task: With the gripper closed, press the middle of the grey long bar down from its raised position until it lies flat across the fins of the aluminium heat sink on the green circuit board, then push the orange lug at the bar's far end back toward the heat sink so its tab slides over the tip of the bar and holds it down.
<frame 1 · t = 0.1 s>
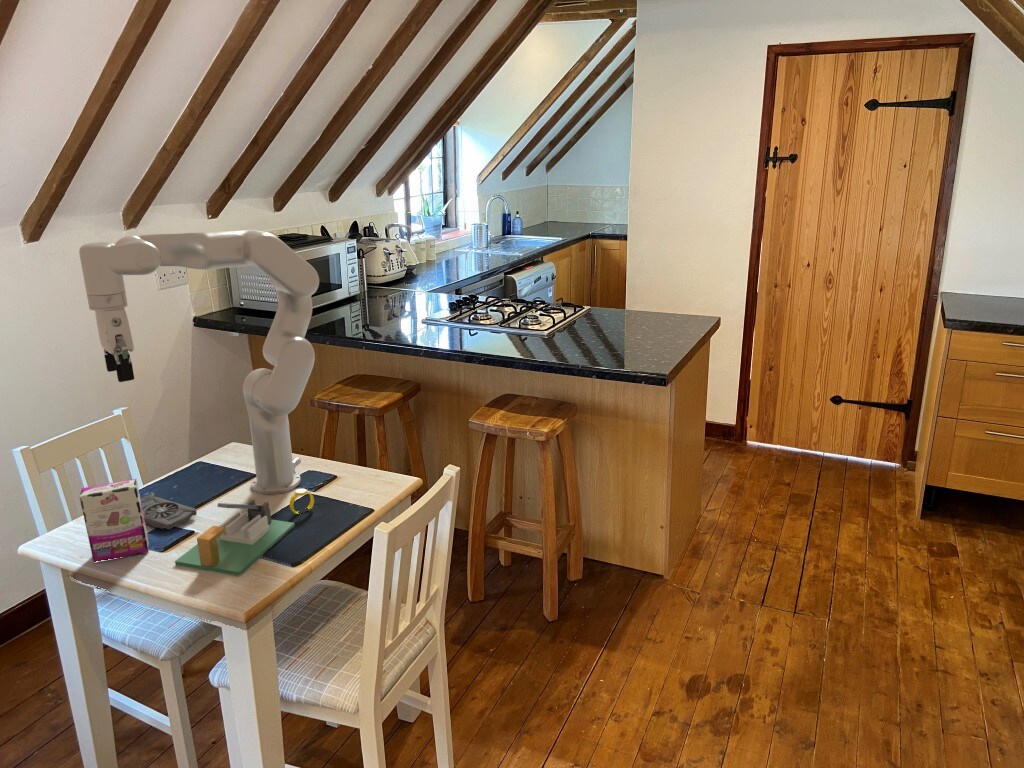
hand: (120, 375, 174), 37 cm above the table, tool pointing down, fingers open, 9 cm apart
candy bar box: (121, 554, 173), on the table
grey long bar: (241, 506, 176), point 8 cm above the table, hinge at 28.0°
board: (237, 545, 176), on the table
graphics card: (157, 522, 188), on the table
lug: (213, 546, 167), point 4 cm above the table, slide at 0.0 cm
watch: (303, 513, 191), on the table
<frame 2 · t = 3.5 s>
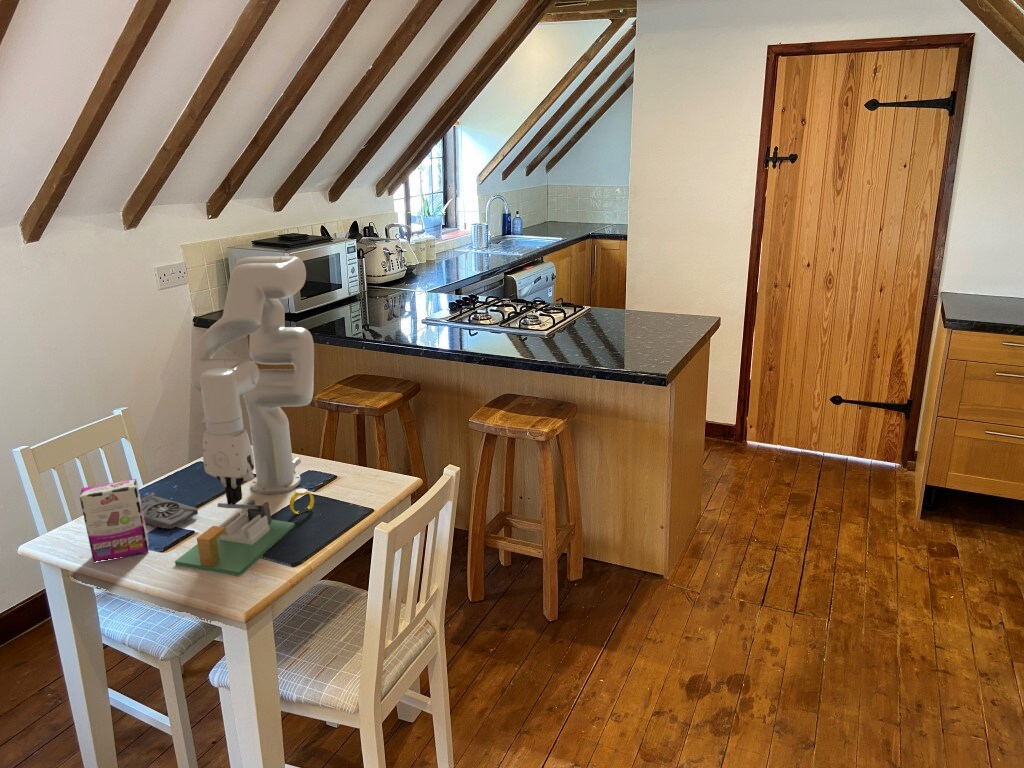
hand: (234, 501, 174), 11 cm above the table, tool pointing down, fingers closed
grey long bar: (241, 506, 176), point 8 cm above the table, hinge at 28.0°, touching gripper
everything else where it was.
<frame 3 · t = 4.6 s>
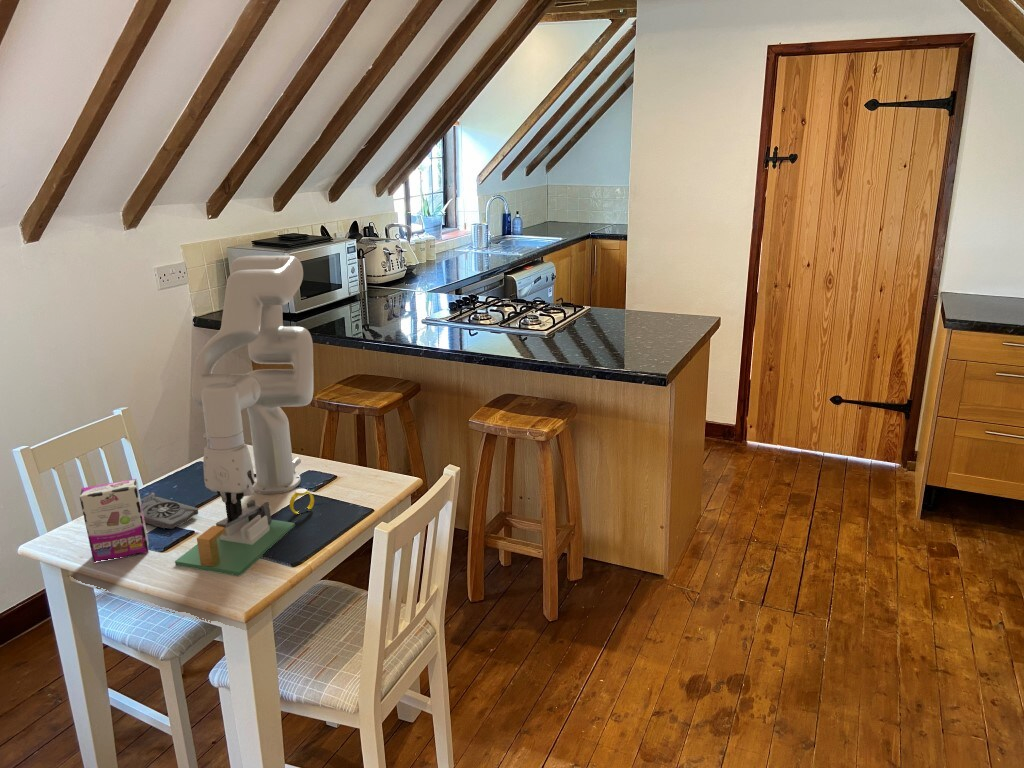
hand: (234, 516, 174), 7 cm above the table, tool pointing down, fingers closed
grey long bar: (240, 515, 176), point 6 cm above the table, hinge at 10.0°, touching gripper
everything else where it was.
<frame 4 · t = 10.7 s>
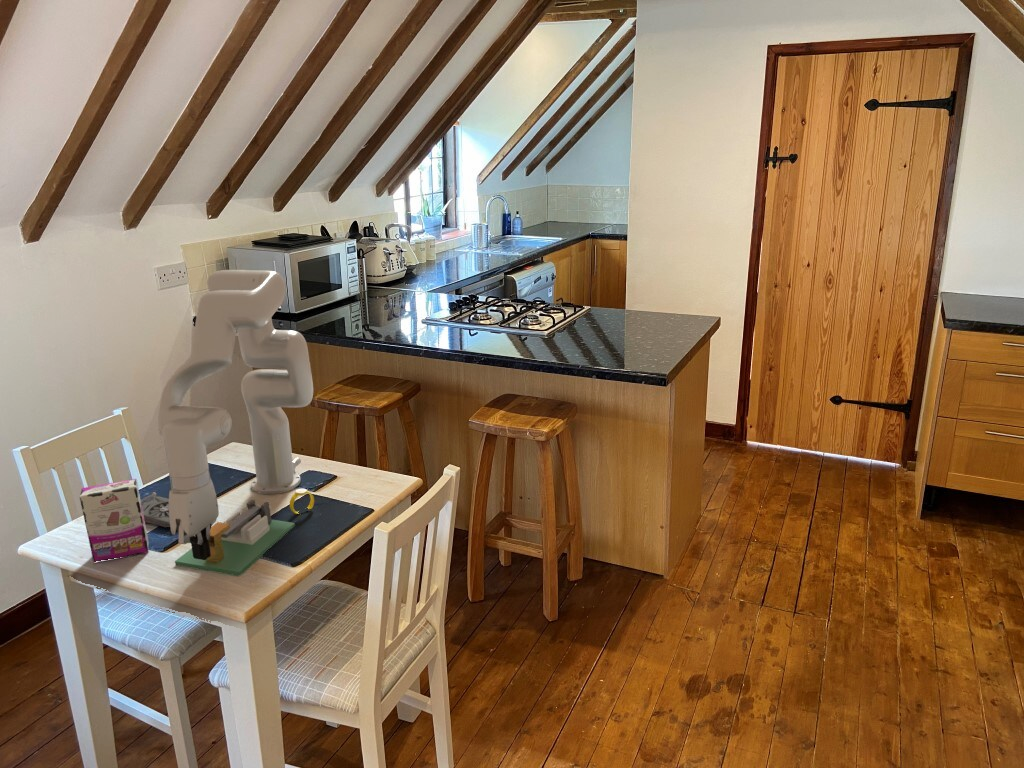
hand: (202, 557, 164), 4 cm above the table, tool pointing down, fingers closed
grey long bar: (241, 520, 176), point 5 cm above the table, hinge at 0.3°
lug: (217, 542, 169), point 4 cm above the table, slide at 1.6 cm, touching gripper
everything else where it was.
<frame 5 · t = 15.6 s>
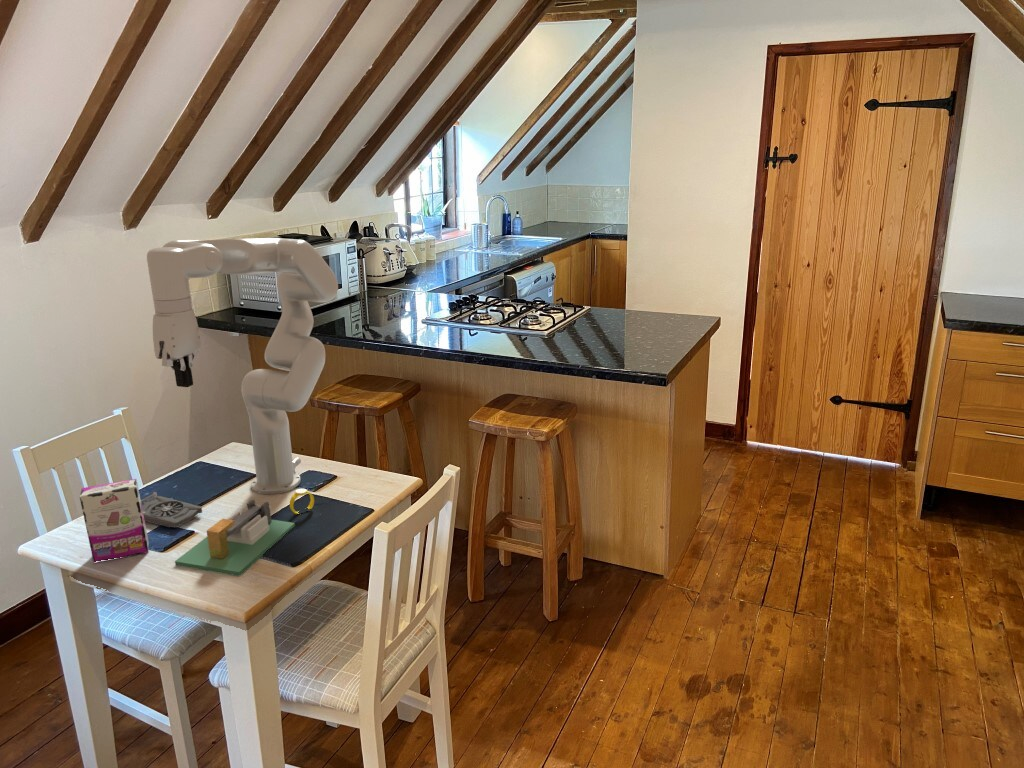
hand: (185, 385, 174), 35 cm above the table, tool pointing down, fingers closed
lug: (222, 538, 170), point 4 cm above the table, slide at 3.2 cm
at the end: grey long bar at +0° (first picture: +28°); lug slide at 3.2 cm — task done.
